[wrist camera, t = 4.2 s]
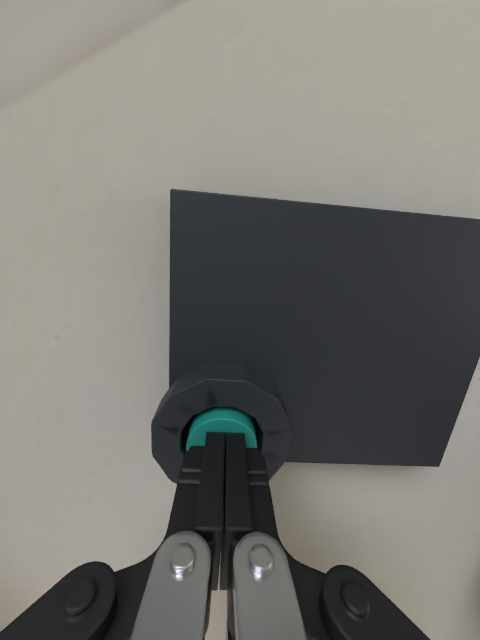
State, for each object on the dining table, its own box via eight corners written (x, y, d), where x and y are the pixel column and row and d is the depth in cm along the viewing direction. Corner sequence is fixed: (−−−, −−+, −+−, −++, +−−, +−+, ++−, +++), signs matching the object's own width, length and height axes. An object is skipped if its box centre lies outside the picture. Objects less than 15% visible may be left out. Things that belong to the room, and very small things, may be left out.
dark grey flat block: (169, 436, 14) (151, 494, 11) (171, 197, 11) (146, 175, 8) (412, 445, 15) (464, 501, 12) (483, 227, 12) (584, 219, 8)
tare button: (191, 443, 12) (185, 476, 10) (193, 391, 11) (186, 417, 10) (250, 445, 12) (253, 478, 10) (256, 394, 11) (260, 420, 10)
